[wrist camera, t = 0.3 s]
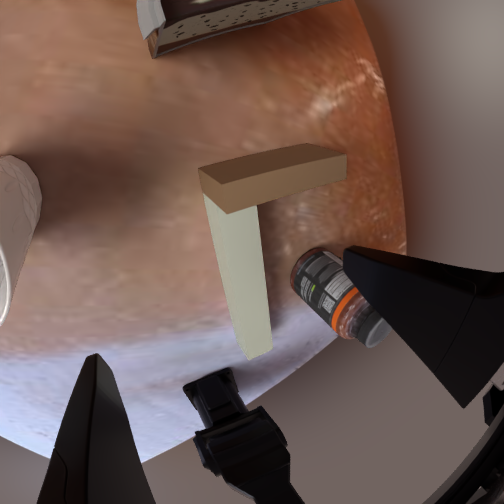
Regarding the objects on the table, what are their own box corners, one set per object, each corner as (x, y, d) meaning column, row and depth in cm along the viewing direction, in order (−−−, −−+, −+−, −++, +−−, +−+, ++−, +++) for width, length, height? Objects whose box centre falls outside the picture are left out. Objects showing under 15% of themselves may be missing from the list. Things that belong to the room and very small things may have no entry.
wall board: (309, 307, 34) (334, 332, 31) (237, 342, 31) (257, 373, 27) (307, 143, 23) (346, 154, 20) (198, 168, 20) (221, 184, 16)
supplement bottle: (331, 277, 34) (397, 333, 25) (290, 300, 32) (354, 367, 23) (329, 237, 30) (409, 292, 21) (284, 259, 29) (361, 329, 20)
